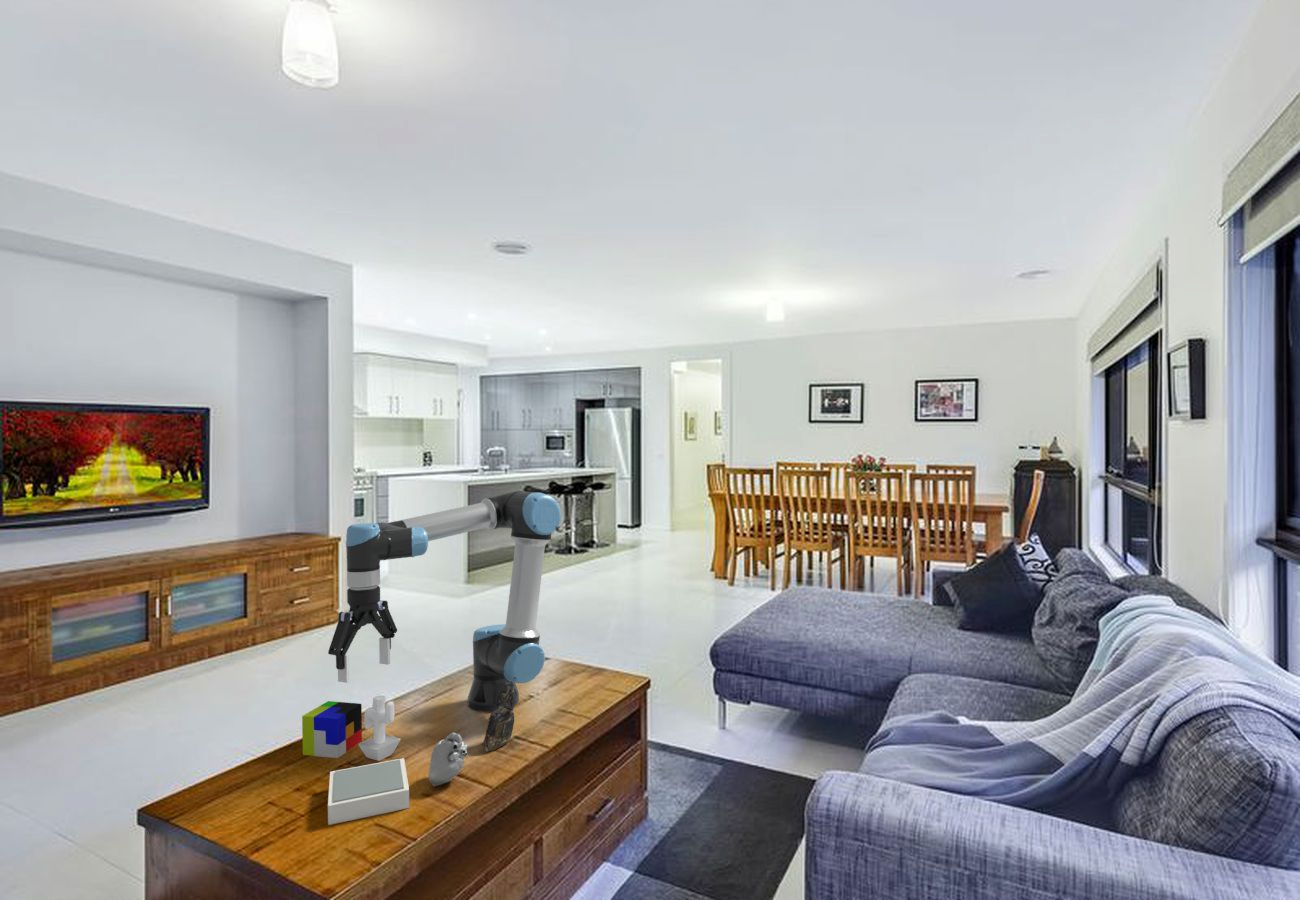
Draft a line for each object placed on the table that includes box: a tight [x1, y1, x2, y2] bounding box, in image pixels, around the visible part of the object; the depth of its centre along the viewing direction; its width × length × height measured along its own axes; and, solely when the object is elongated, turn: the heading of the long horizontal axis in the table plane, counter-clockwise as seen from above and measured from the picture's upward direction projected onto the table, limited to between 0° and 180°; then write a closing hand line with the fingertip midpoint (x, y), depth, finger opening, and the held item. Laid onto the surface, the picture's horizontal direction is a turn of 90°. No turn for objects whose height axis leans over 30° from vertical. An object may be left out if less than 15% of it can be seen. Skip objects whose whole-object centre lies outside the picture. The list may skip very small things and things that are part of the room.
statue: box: [482, 682, 515, 752], centre depth 179 cm, size 6×12×15 cm, turn 155°
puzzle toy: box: [301, 700, 363, 759], centre depth 177 cm, size 10×10×10 cm
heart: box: [428, 731, 469, 787], centre depth 160 cm, size 10×10×12 cm
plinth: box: [327, 757, 410, 826], centre depth 152 cm, size 16×16×4 cm
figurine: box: [357, 695, 402, 762], centre depth 173 cm, size 7×9×15 cm
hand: (365, 672), depth 168 cm, fingers open, 13 cm apart
